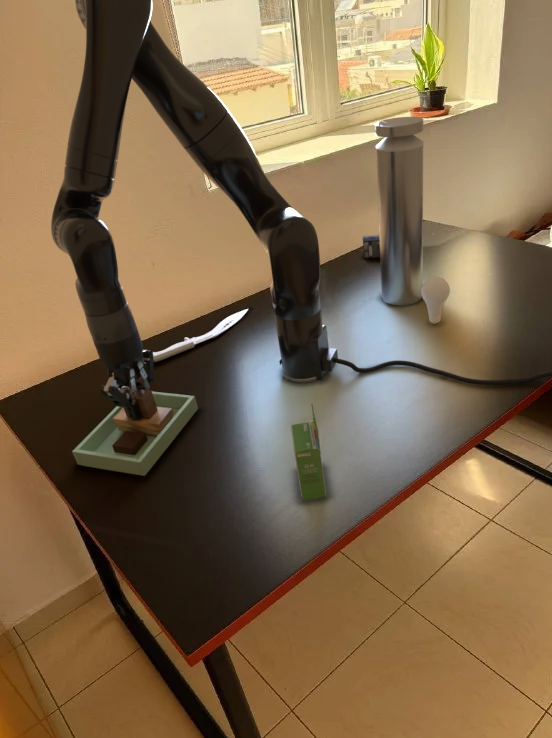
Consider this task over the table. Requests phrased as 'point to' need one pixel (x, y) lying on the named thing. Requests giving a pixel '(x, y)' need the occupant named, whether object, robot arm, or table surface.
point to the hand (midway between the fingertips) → (142, 412)
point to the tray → (102, 454)
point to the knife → (198, 338)
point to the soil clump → (130, 442)
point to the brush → (144, 415)
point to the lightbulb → (435, 296)
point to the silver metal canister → (400, 209)
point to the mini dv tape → (371, 246)
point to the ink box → (308, 459)
